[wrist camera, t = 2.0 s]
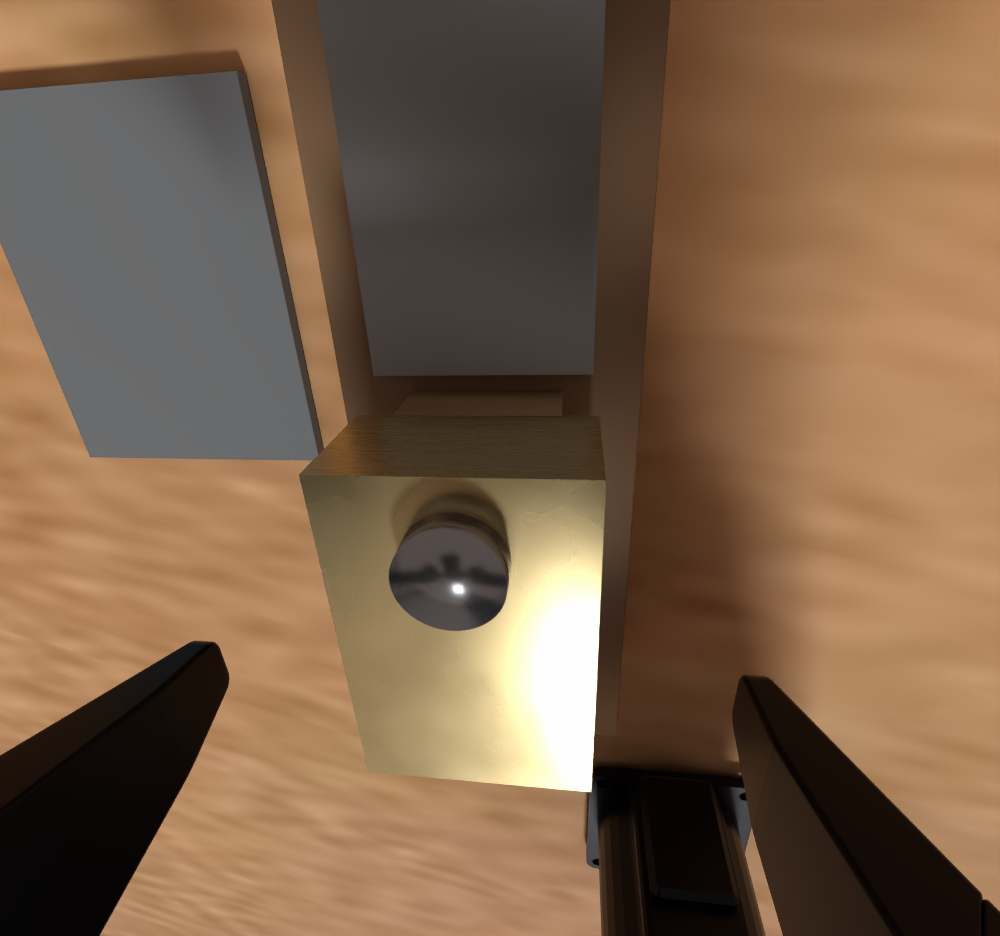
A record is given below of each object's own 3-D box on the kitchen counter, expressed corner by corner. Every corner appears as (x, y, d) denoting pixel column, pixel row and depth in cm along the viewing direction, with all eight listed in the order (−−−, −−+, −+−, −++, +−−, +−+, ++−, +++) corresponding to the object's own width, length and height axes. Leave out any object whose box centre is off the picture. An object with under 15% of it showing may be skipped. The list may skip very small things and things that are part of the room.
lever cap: (588, 690, 13) (591, 822, 10) (401, 677, 14) (358, 799, 11) (599, 415, 10) (608, 501, 7) (357, 415, 11) (280, 493, 8)
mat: (324, 454, 17) (319, 460, 17) (99, 452, 19) (90, 457, 18) (245, 73, 13) (236, 70, 13) (-45, 98, 14) (-62, 95, 14)
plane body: (608, 637, 19) (621, 821, 14) (432, 627, 20) (376, 797, 15) (664, -315, 10) (790, -1043, 4) (316, -257, 10) (6, -794, 5)
